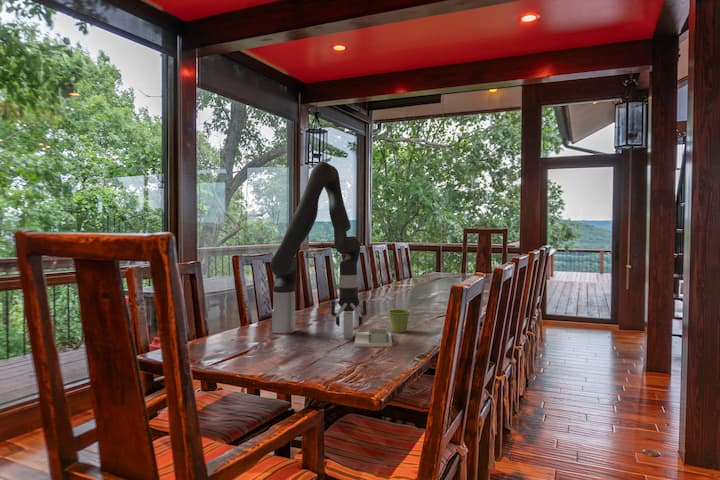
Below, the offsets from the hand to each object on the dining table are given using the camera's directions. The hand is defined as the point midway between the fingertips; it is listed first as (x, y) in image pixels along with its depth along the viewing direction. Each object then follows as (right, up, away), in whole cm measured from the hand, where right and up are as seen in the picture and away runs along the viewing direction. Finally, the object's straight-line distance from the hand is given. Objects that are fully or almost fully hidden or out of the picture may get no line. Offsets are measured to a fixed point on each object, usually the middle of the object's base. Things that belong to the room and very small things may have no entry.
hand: (349, 325), depth 186 cm
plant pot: (+21, -4, +9) cm, 23 cm away
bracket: (0, -5, 0) cm, 5 cm away
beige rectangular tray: (+10, -5, -6) cm, 12 cm away
